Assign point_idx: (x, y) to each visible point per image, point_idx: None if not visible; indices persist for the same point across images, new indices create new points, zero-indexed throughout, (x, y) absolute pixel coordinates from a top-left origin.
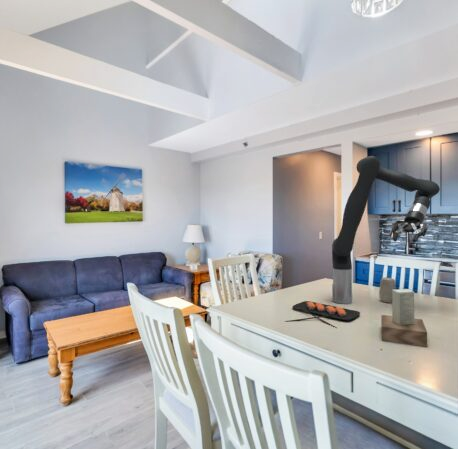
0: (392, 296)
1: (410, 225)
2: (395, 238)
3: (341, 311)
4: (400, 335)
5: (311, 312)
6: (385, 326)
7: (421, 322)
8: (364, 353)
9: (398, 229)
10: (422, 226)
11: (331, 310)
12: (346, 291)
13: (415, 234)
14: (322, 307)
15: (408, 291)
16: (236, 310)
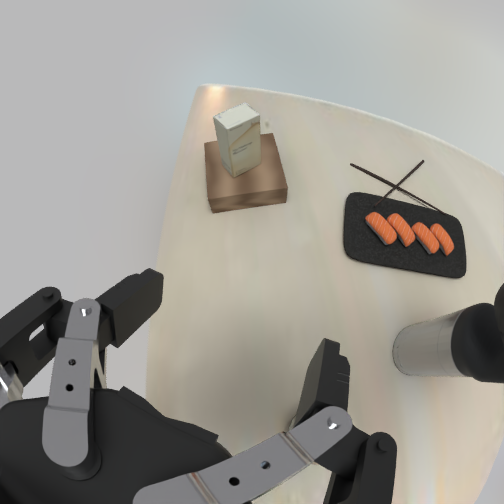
0: (259, 125)
1: (108, 468)
2: (317, 358)
3: (375, 215)
4: None
5: (420, 206)
6: (267, 136)
7: (210, 180)
8: (282, 109)
9: (308, 454)
10: (1, 345)
11: (394, 213)
12: (417, 328)
13: (111, 299)
14: (417, 226)
15: (224, 114)
16: (490, 180)
